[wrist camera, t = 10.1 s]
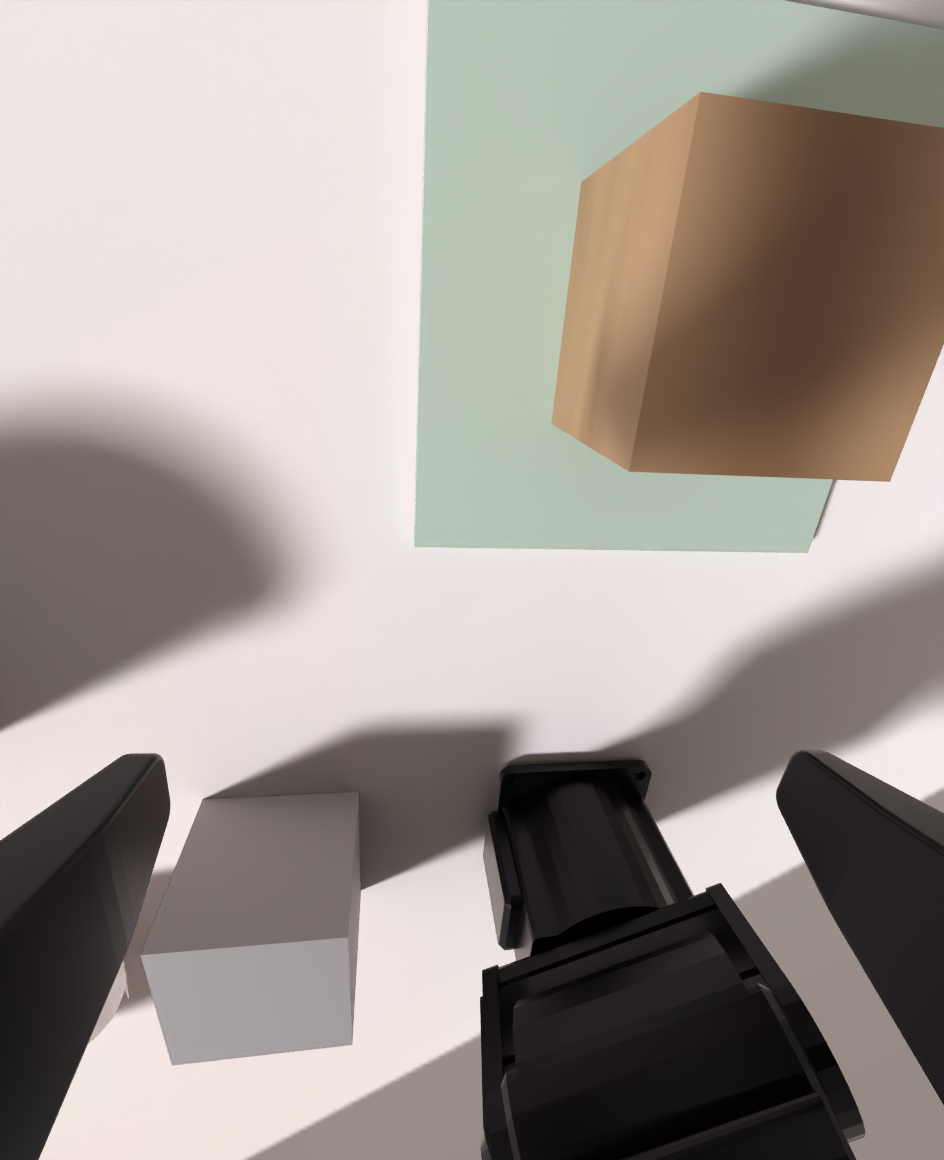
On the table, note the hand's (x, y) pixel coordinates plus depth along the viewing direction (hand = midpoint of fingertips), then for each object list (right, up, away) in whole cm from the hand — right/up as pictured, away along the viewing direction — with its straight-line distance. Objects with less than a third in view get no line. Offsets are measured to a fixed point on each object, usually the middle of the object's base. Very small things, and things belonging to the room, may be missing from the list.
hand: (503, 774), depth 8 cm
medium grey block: (-8, -9, +15) cm, 20 cm away
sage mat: (+5, +10, +8) cm, 14 cm away
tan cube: (+5, +10, +8) cm, 14 cm away
